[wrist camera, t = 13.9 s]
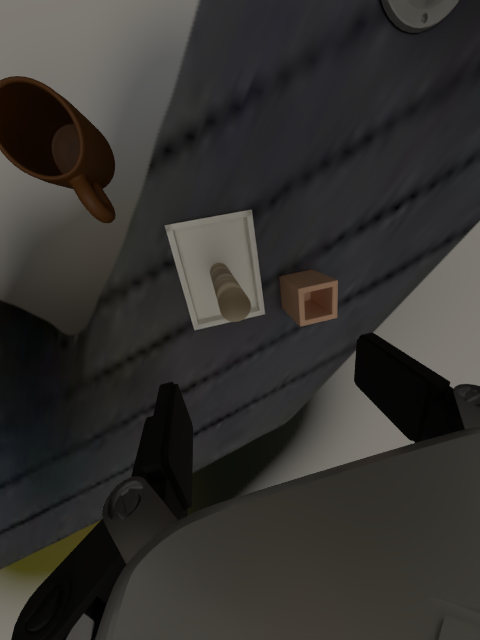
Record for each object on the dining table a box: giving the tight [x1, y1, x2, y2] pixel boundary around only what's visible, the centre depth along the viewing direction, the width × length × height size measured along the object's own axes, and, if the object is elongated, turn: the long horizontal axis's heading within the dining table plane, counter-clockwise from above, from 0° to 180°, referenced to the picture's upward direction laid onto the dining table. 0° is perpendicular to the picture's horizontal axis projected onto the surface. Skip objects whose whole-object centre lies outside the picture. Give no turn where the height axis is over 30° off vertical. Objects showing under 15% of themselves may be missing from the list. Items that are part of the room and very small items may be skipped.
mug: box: [0, 76, 115, 223], centre depth 25 cm, size 12×8×9 cm, turn 27°
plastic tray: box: [165, 210, 265, 330], centre depth 35 cm, size 16×12×3 cm
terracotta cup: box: [279, 269, 338, 326], centre depth 37 cm, size 6×6×8 cm
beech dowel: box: [210, 263, 251, 322], centre depth 29 cm, size 3×3×16 cm
